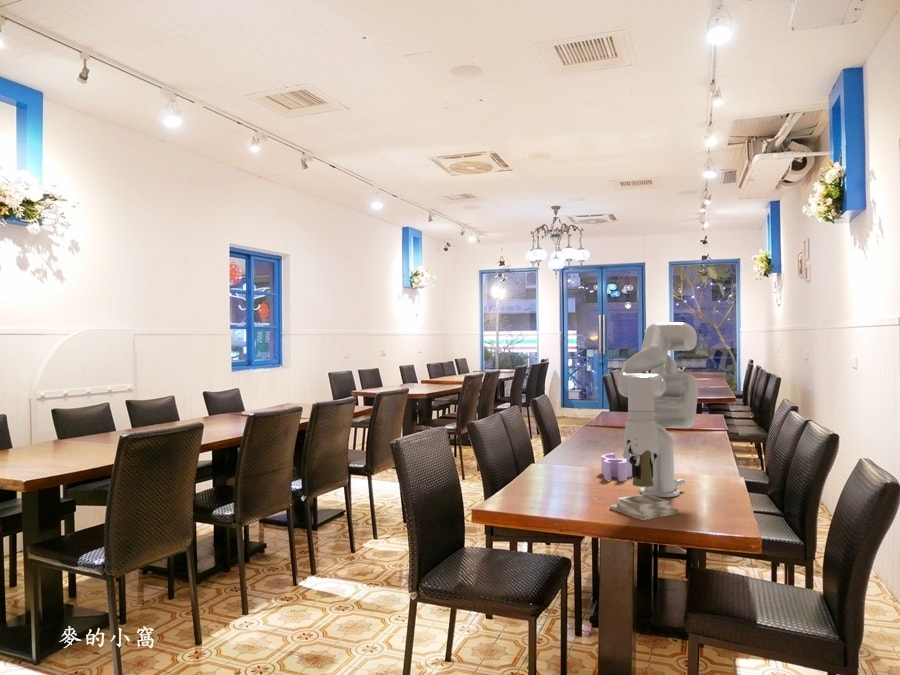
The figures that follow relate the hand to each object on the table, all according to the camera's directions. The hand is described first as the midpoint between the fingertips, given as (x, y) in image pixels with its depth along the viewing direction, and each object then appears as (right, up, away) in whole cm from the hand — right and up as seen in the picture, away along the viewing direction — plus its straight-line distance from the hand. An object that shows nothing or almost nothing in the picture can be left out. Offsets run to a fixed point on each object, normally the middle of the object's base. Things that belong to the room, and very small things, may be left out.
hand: (642, 476), depth 192 cm
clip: (+6, -11, +50) cm, 51 cm away
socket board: (0, -10, 0) cm, 11 cm away
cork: (0, -2, 0) cm, 2 cm away
